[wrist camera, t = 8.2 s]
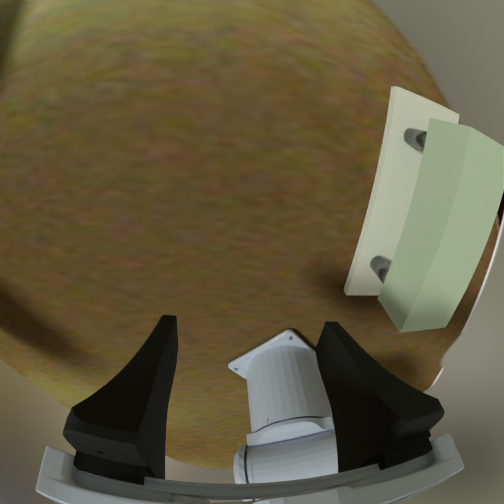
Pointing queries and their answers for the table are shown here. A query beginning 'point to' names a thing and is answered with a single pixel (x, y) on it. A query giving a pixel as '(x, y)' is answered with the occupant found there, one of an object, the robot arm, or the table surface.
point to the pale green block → (444, 226)
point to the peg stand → (392, 188)
